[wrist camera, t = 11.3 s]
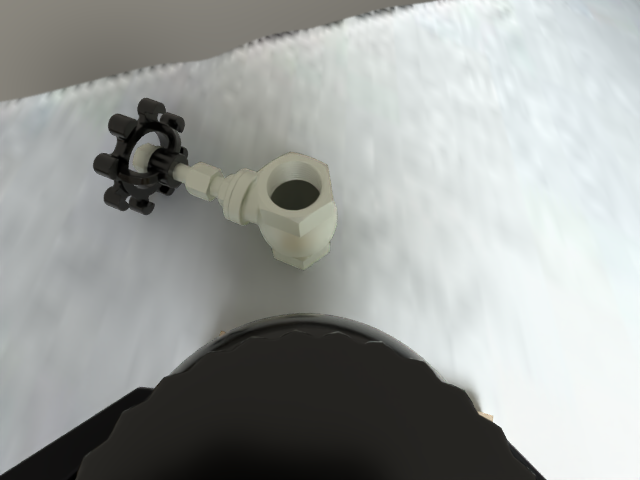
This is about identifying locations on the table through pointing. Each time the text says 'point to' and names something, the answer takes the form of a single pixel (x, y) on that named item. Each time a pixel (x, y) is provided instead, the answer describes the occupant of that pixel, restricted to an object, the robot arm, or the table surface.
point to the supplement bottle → (304, 413)
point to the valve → (224, 185)
